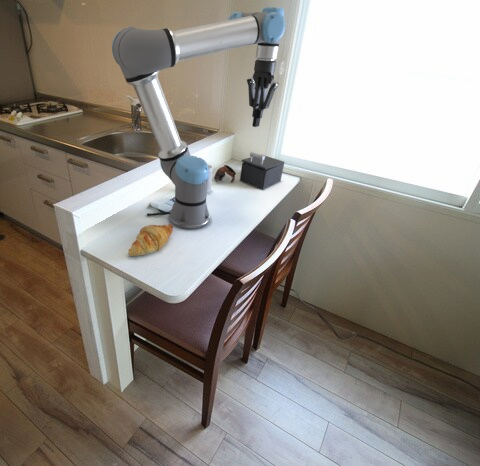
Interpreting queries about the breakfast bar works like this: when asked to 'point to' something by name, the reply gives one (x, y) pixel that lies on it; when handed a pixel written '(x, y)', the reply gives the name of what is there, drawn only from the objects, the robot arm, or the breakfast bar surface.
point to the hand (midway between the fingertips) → (255, 126)
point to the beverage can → (209, 178)
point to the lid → (262, 161)
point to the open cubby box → (261, 175)
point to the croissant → (150, 239)
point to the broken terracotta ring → (222, 171)
